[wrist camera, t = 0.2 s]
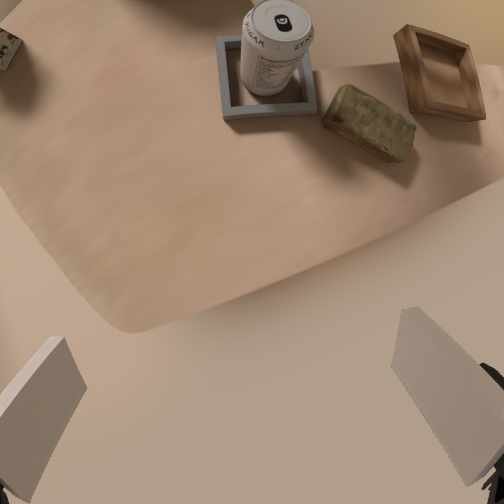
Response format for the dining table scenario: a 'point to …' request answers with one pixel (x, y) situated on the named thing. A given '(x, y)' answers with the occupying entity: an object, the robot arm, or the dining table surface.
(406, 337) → the robot arm
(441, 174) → the dining table surface
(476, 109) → the walnut bin
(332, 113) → the stone block
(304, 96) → the tray
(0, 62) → the coffee box
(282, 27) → the energy drink can
